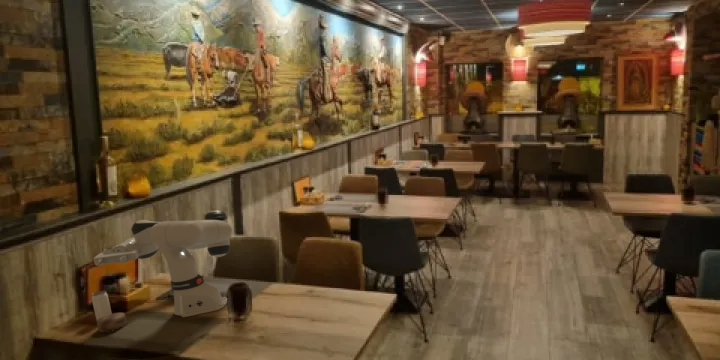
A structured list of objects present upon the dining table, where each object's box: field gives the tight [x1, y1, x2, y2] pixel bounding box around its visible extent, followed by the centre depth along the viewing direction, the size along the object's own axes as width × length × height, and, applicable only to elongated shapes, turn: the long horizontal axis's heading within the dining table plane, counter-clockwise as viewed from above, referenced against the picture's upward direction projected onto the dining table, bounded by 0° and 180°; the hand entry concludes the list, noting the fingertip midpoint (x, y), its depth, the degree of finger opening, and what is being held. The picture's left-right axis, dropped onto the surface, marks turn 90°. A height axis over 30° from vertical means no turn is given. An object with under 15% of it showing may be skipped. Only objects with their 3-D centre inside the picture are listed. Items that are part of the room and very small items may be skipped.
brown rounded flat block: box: [96, 312, 127, 333], centre depth 239 cm, size 11×11×4 cm
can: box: [91, 290, 113, 321], centre depth 250 cm, size 6×6×12 cm
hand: (109, 262), depth 262 cm, fingers open, 8 cm apart
